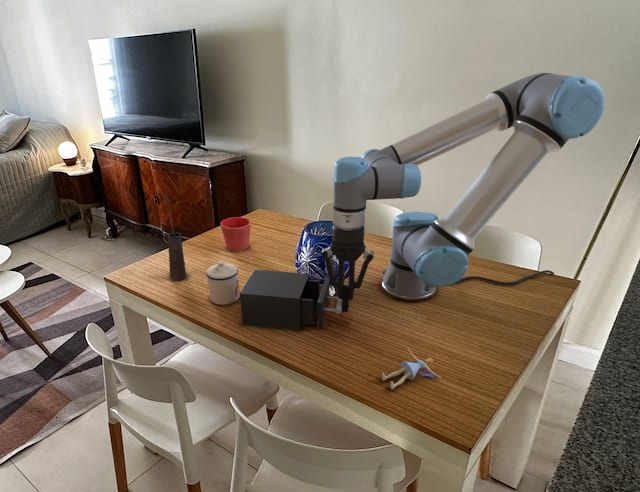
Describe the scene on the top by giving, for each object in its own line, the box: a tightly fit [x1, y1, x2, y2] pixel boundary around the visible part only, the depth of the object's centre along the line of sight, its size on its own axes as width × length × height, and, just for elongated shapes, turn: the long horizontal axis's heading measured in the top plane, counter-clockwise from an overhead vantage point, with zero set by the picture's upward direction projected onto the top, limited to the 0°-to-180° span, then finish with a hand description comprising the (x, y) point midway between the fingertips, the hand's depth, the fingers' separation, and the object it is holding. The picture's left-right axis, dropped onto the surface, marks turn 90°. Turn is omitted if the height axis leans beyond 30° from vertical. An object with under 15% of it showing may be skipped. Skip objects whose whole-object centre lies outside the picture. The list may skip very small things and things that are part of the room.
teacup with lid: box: [205, 260, 240, 306], centre depth 131 cm, size 12×9×12 cm
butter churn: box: [165, 190, 187, 281], centre depth 138 cm, size 9×10×28 cm
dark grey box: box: [239, 269, 310, 331], centre depth 122 cm, size 16×14×10 cm
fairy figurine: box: [381, 347, 443, 390], centre depth 99 cm, size 12×5×12 cm
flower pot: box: [220, 216, 252, 252], centre depth 162 cm, size 11×11×10 cm
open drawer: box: [300, 278, 342, 329], centre depth 120 cm, size 19×12×8 cm, turn 76°
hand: (345, 309), depth 118 cm, fingers closed
